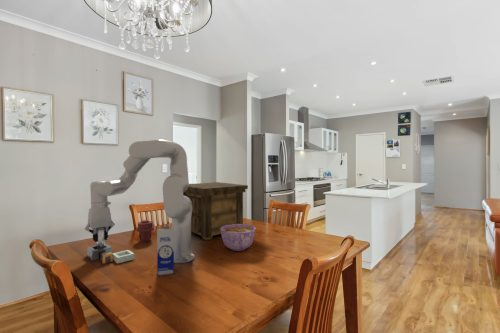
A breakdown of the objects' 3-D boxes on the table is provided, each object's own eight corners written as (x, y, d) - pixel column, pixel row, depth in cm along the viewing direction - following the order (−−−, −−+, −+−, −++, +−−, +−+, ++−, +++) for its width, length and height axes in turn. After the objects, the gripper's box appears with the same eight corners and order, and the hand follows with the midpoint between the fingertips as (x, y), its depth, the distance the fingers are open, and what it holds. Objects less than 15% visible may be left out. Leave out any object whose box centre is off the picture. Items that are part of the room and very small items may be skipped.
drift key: (112, 261, 130) (112, 253, 130) (103, 263, 127) (103, 255, 127) (105, 256, 137) (105, 248, 137) (97, 258, 134) (97, 250, 134)
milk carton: (157, 275, 114) (156, 229, 113) (157, 269, 120) (157, 225, 120) (174, 273, 116) (174, 228, 115) (174, 267, 122) (173, 224, 122)
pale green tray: (134, 259, 133) (134, 253, 133) (117, 263, 127) (117, 257, 127) (128, 255, 139) (128, 249, 139) (111, 259, 133) (111, 253, 133)
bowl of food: (252, 256, 138) (252, 233, 138) (215, 253, 142) (215, 231, 142) (258, 244, 158) (258, 224, 157) (226, 242, 162) (226, 223, 161)
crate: (247, 232, 183) (247, 185, 182) (203, 243, 159) (203, 188, 158) (217, 223, 208) (217, 182, 208) (176, 231, 185) (176, 184, 184)
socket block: (111, 255, 138) (111, 247, 138) (92, 260, 131) (92, 251, 131) (106, 251, 144) (106, 243, 144) (87, 255, 138) (87, 247, 138)
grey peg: (106, 250, 138) (105, 227, 137) (97, 252, 135) (97, 228, 135) (103, 248, 140) (103, 226, 140) (95, 250, 138) (94, 227, 137)
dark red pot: (141, 238, 170) (156, 238, 169) (133, 242, 160) (149, 243, 159) (141, 218, 169) (156, 219, 168) (133, 222, 159) (149, 222, 158)
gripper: (114, 202, 146) (115, 235, 146) (78, 206, 134) (80, 242, 134) (119, 203, 140) (120, 238, 141) (82, 208, 129) (83, 245, 129)
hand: (100, 240), depth 138 cm, fingers closed on grey peg, 4 cm apart
